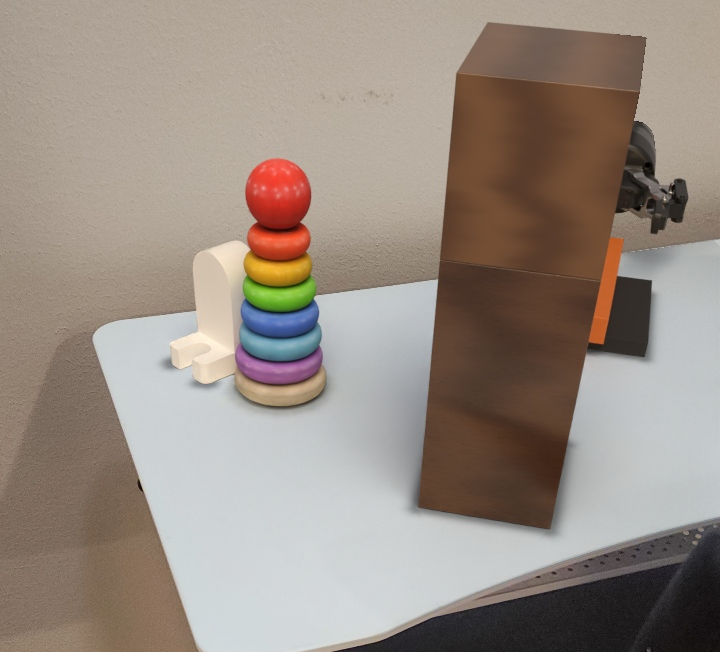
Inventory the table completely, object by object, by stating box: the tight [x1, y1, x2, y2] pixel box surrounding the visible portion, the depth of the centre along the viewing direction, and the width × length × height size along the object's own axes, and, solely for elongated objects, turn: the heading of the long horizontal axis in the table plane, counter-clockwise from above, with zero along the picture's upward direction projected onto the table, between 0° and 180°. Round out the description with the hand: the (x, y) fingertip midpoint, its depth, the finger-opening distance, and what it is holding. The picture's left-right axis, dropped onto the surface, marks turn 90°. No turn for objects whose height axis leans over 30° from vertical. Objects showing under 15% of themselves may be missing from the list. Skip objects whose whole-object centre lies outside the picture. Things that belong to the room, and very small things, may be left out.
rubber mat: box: [587, 275, 653, 358], centre depth 99 cm, size 10×14×2 cm
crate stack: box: [417, 21, 647, 530], centre depth 69 cm, size 10×12×30 cm
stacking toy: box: [233, 157, 327, 407], centre depth 81 cm, size 8×8×19 cm
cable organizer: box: [169, 239, 251, 385], centre depth 88 cm, size 5×10×10 cm, turn 134°
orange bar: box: [589, 236, 625, 344], centre depth 98 cm, size 3×19×2 cm, turn 165°
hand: (613, 219), depth 101 cm, fingers open, 8 cm apart
